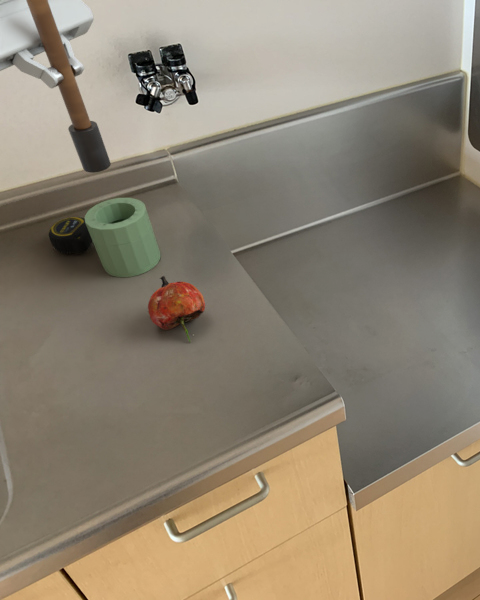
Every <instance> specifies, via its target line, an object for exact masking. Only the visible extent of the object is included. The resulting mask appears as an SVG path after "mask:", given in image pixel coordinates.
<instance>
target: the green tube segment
mask: <svg viewBox="0 0 480 600" xmlns="http://www.w3.org/2000/svg"><path fill="white" fill-rule="evenodd" d="M84 219H85V223H86V226H87V228H88V231H89V233H90V236H91V238H92V241H93V242H92V243H93V245H94V248H95V250H96V253H97V255H98V257H99V260H100V263H101V266H102V267H103V269H104V271H105V272H106V273H107V274H108V275H110V276H112V277H117V278H130V277H136V276H140V275H142V274H145V273H147V272H149V271H151V270H152V269H154V268H155V267H156V266H157V264H158V263H159V262H160V260H161V251H160V248H159V244H158V242H157V241H158V240H157V239H156V235H155V232H154V229H153V226H152V223H151V221H150V220H151V219H150V217H149V214H148V210H147V208H146V204H145V203H144V202H143V201H141V200H140V199H138V198H133V197H116V198H110V199H106V200H104V201H102V202H99V203H97V204H95V205H94V206H92V207H91V208H89V209H88V210H87V212H86V214H85V215H84Z"/></svg>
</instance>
